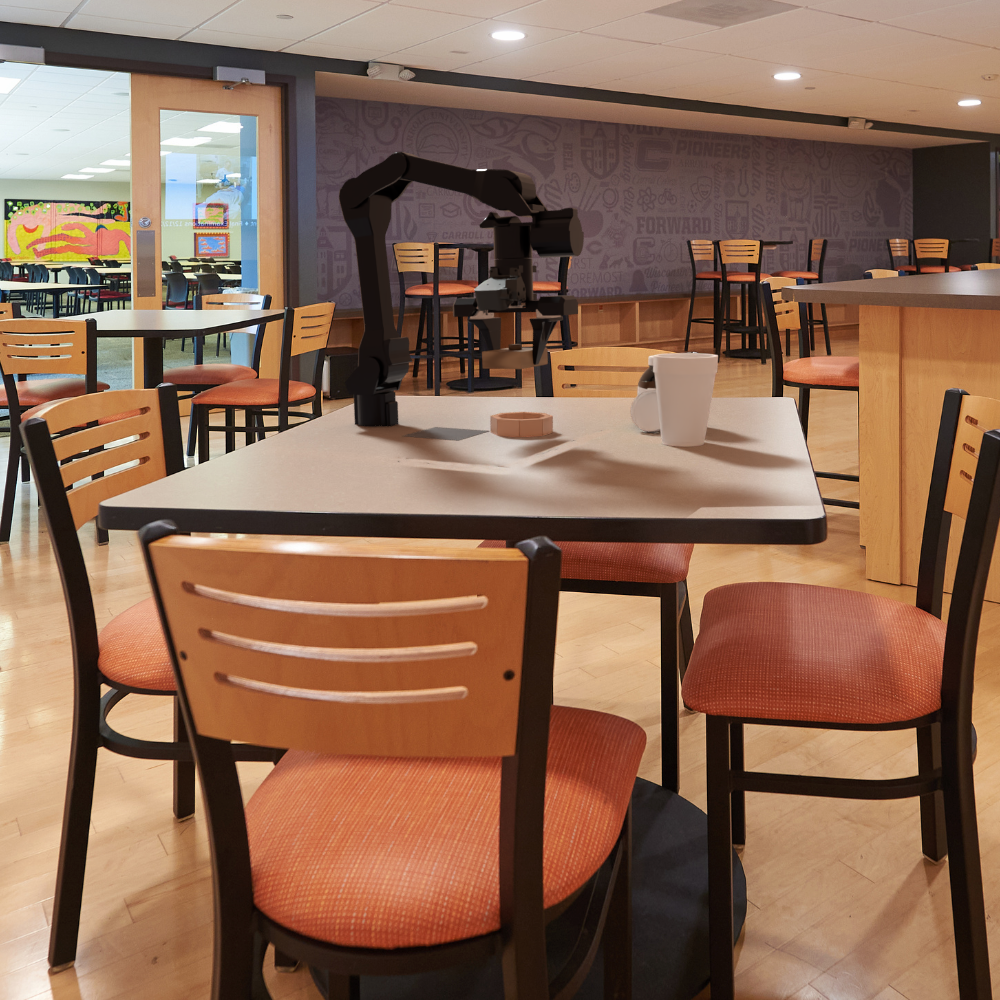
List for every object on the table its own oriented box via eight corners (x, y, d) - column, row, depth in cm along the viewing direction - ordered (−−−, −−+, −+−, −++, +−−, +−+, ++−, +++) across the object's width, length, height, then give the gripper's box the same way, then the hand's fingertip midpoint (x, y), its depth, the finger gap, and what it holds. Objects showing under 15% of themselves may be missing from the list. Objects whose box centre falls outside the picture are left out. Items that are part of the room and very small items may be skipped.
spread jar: (692, 423, 167) (694, 354, 165) (708, 433, 156) (711, 359, 154) (622, 424, 167) (623, 355, 164) (633, 434, 156) (634, 360, 153)
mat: (401, 442, 150) (401, 435, 150) (435, 433, 159) (435, 426, 159) (458, 446, 146) (458, 440, 146) (490, 437, 155) (490, 430, 154)
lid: (482, 368, 148) (481, 346, 147) (510, 363, 156) (510, 342, 155) (521, 369, 145) (520, 346, 144) (547, 364, 153) (547, 342, 152)
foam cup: (714, 449, 142) (718, 358, 139) (650, 447, 144) (652, 358, 141) (714, 438, 151) (717, 353, 148) (653, 437, 153) (655, 352, 150)
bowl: (482, 440, 151) (482, 418, 151) (509, 432, 159) (508, 410, 158) (535, 444, 147) (535, 421, 146) (559, 435, 155) (559, 413, 154)
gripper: (431, 261, 144) (435, 368, 148) (546, 256, 136) (548, 369, 139) (469, 261, 154) (473, 362, 157) (579, 256, 145) (580, 363, 149)
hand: (515, 364), depth 150 cm, fingers closed on lid, 6 cm apart
